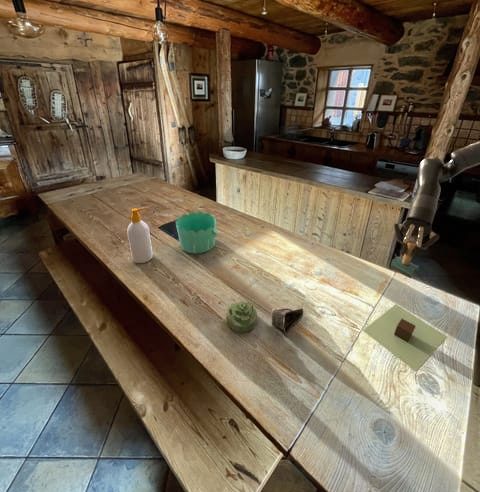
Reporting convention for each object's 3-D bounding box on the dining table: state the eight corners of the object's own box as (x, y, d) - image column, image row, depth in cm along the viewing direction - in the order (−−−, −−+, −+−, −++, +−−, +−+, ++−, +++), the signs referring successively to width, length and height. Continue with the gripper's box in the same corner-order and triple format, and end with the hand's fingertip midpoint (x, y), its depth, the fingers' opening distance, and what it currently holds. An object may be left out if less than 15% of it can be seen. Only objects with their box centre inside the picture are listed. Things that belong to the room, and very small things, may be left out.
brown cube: (398, 327, 85) (401, 318, 83) (412, 335, 82) (415, 325, 80) (393, 334, 82) (397, 325, 81) (407, 342, 80) (411, 333, 78)
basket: (171, 242, 129) (168, 218, 123) (202, 229, 140) (200, 207, 135) (192, 260, 116) (191, 234, 111) (225, 245, 127) (224, 221, 122)
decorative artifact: (234, 304, 94) (221, 325, 85) (234, 288, 91) (220, 309, 82) (261, 313, 90) (249, 336, 82) (262, 297, 87) (250, 320, 79)
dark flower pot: (287, 304, 95) (269, 295, 87) (305, 309, 90) (288, 301, 82) (279, 331, 91) (261, 325, 83) (298, 339, 87) (279, 333, 79)
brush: (395, 263, 96) (404, 237, 91) (416, 274, 90) (426, 246, 86) (390, 267, 94) (398, 240, 89) (410, 278, 88) (420, 250, 84)
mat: (395, 305, 94) (395, 303, 94) (446, 338, 82) (447, 336, 82) (361, 331, 84) (362, 330, 84) (415, 373, 72) (415, 371, 72)
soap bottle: (155, 260, 116) (148, 211, 106) (132, 265, 112) (122, 215, 102) (153, 250, 123) (146, 203, 113) (132, 254, 120) (122, 206, 109)
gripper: (444, 220, 91) (430, 267, 87) (398, 209, 98) (384, 252, 94) (449, 211, 85) (435, 261, 81) (400, 201, 92) (385, 246, 88)
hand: (407, 256), depth 87 cm, fingers closed on brush, 2 cm apart
